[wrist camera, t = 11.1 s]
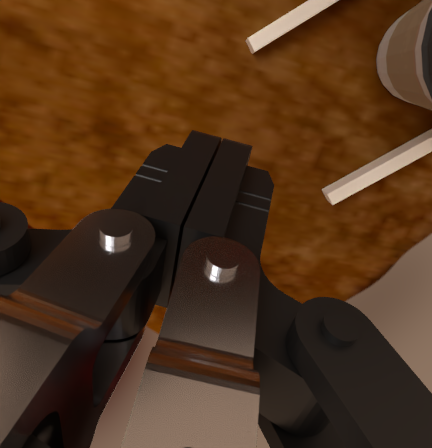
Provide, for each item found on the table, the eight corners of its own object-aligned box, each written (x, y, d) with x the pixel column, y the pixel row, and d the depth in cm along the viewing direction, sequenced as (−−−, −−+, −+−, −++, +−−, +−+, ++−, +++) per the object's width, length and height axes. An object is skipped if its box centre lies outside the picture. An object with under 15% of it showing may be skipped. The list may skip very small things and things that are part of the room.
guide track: (245, 40, 36) (252, 31, 30) (476, -103, 33) (533, -144, 27) (326, 199, 40) (346, 217, 34) (536, 85, 37) (595, 84, 32)
